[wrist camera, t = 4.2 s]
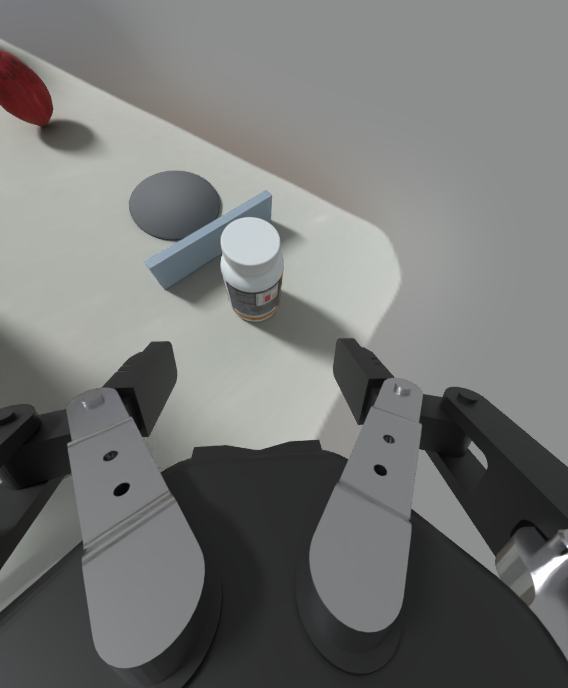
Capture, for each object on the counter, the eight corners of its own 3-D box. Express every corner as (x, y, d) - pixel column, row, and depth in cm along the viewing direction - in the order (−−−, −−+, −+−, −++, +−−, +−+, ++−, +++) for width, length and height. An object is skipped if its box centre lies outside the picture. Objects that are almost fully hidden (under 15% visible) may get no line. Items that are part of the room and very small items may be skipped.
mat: (163, 255, 29) (162, 252, 28) (113, 197, 31) (111, 195, 30) (236, 211, 32) (236, 209, 31) (186, 162, 34) (185, 159, 33)
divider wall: (164, 289, 27) (149, 268, 24) (159, 283, 28) (143, 261, 24) (270, 222, 32) (272, 195, 28) (265, 217, 32) (266, 189, 28)
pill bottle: (289, 305, 28) (302, 248, 19) (248, 332, 27) (242, 285, 17) (260, 271, 29) (259, 200, 20) (220, 295, 28) (199, 231, 18)
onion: (73, 114, 34) (20, 27, 27) (61, 142, 33) (1, 58, 25) (29, 109, 34) (-38, 19, 26) (14, 137, 32) (-62, 50, 25)
